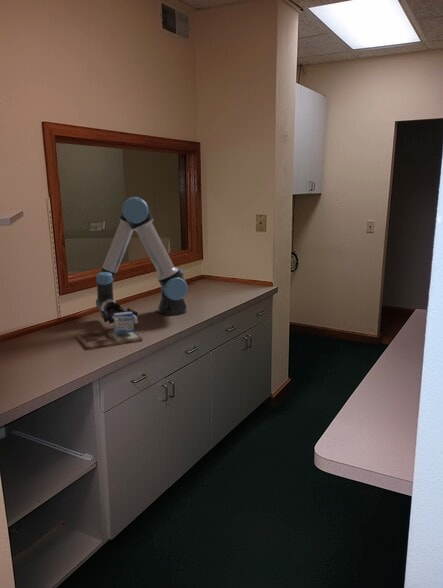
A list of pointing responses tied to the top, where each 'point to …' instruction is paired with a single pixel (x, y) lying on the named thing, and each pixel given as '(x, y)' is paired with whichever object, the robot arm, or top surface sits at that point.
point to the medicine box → (124, 322)
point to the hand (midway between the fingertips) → (127, 321)
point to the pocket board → (114, 339)
